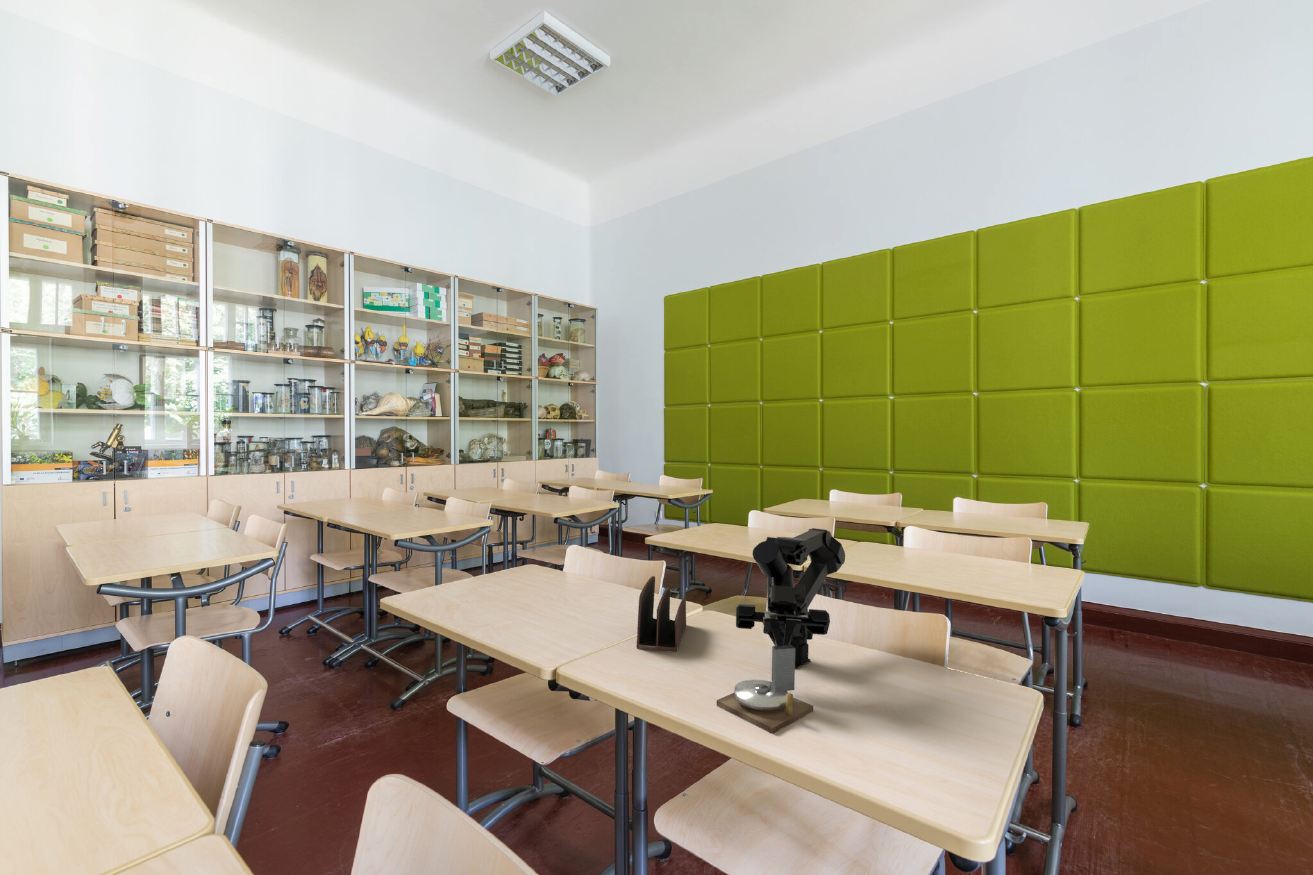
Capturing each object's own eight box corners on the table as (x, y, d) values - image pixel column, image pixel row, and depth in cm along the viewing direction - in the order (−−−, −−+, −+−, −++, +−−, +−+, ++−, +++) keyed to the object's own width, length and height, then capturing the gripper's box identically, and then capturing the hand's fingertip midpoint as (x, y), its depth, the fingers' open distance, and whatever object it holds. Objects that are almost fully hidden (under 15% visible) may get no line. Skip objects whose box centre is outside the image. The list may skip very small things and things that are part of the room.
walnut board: (716, 705, 104) (717, 681, 104) (757, 686, 113) (758, 664, 113) (772, 733, 95) (772, 707, 95) (813, 711, 103) (813, 686, 103)
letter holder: (636, 649, 132) (637, 591, 132) (650, 622, 151) (651, 571, 151) (677, 653, 130) (678, 593, 130) (686, 625, 150) (687, 574, 150)
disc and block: (747, 712, 98) (748, 661, 98) (726, 688, 107) (727, 641, 107) (805, 706, 100) (806, 656, 100) (780, 683, 110) (781, 637, 110)
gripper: (737, 565, 115) (735, 636, 104) (829, 571, 112) (837, 644, 101) (737, 593, 122) (734, 662, 111) (823, 599, 119) (830, 670, 108)
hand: (782, 659), depth 108 cm, fingers closed
